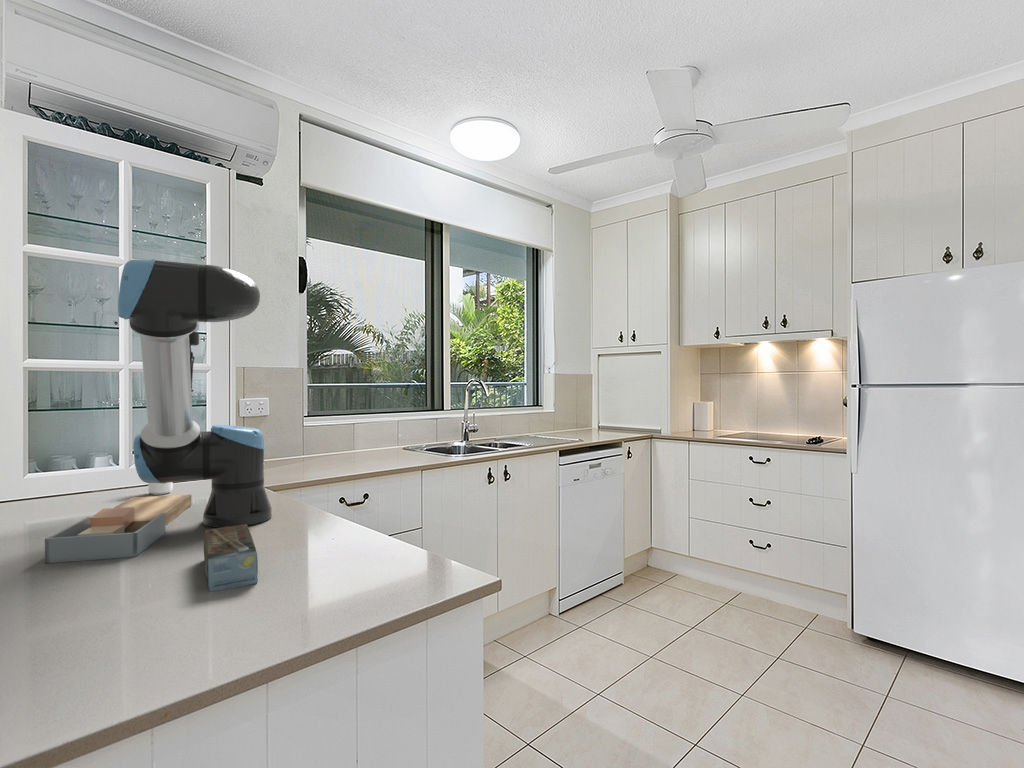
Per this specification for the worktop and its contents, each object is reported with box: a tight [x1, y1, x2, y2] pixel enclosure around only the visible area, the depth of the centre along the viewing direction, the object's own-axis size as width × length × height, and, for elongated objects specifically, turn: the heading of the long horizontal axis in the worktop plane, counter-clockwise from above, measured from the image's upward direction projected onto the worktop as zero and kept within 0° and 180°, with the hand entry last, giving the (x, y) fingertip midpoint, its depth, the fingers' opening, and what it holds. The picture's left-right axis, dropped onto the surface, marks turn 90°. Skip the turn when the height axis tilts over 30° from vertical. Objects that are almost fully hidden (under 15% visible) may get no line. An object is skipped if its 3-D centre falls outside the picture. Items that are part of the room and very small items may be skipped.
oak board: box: [113, 494, 192, 533], centre depth 134 cm, size 14×28×3 cm, turn 16°
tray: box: [44, 513, 166, 564], centre depth 113 cm, size 15×17×5 cm
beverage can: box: [147, 482, 174, 496], centre depth 165 cm, size 6×6×12 cm
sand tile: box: [77, 525, 124, 536], centre depth 113 cm, size 6×6×3 cm
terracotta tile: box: [90, 507, 135, 529], centre depth 119 cm, size 6×6×3 cm
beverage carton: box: [203, 524, 259, 592], centre depth 99 cm, size 8×19×7 cm, turn 30°
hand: (183, 415), depth 152 cm, fingers closed
